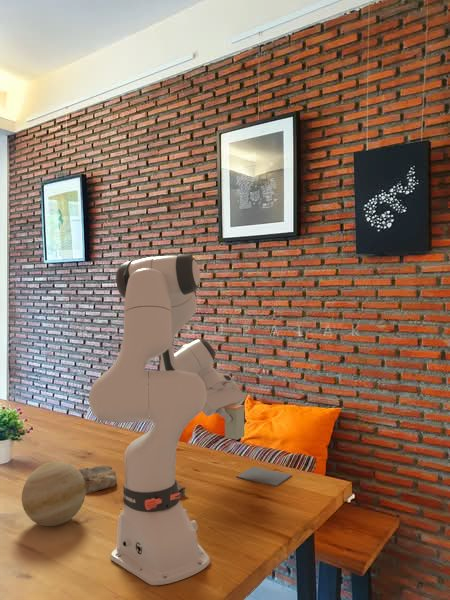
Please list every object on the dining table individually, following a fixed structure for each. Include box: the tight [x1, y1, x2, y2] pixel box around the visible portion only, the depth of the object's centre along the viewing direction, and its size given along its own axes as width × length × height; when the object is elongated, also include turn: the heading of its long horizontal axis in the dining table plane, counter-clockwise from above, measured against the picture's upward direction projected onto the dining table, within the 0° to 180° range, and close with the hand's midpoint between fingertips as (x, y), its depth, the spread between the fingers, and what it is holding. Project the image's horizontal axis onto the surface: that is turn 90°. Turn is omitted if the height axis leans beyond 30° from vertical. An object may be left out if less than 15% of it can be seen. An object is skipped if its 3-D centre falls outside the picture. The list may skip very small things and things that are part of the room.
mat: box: [236, 466, 293, 487], centre depth 148 cm, size 14×10×1 cm
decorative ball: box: [21, 460, 86, 527], centre depth 119 cm, size 15×15×15 cm
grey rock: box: [78, 465, 118, 494], centre depth 143 cm, size 14×5×20 cm
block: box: [224, 404, 245, 441], centre depth 154 cm, size 4×4×10 cm
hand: (236, 418), depth 154 cm, fingers closed on block, 4 cm apart
